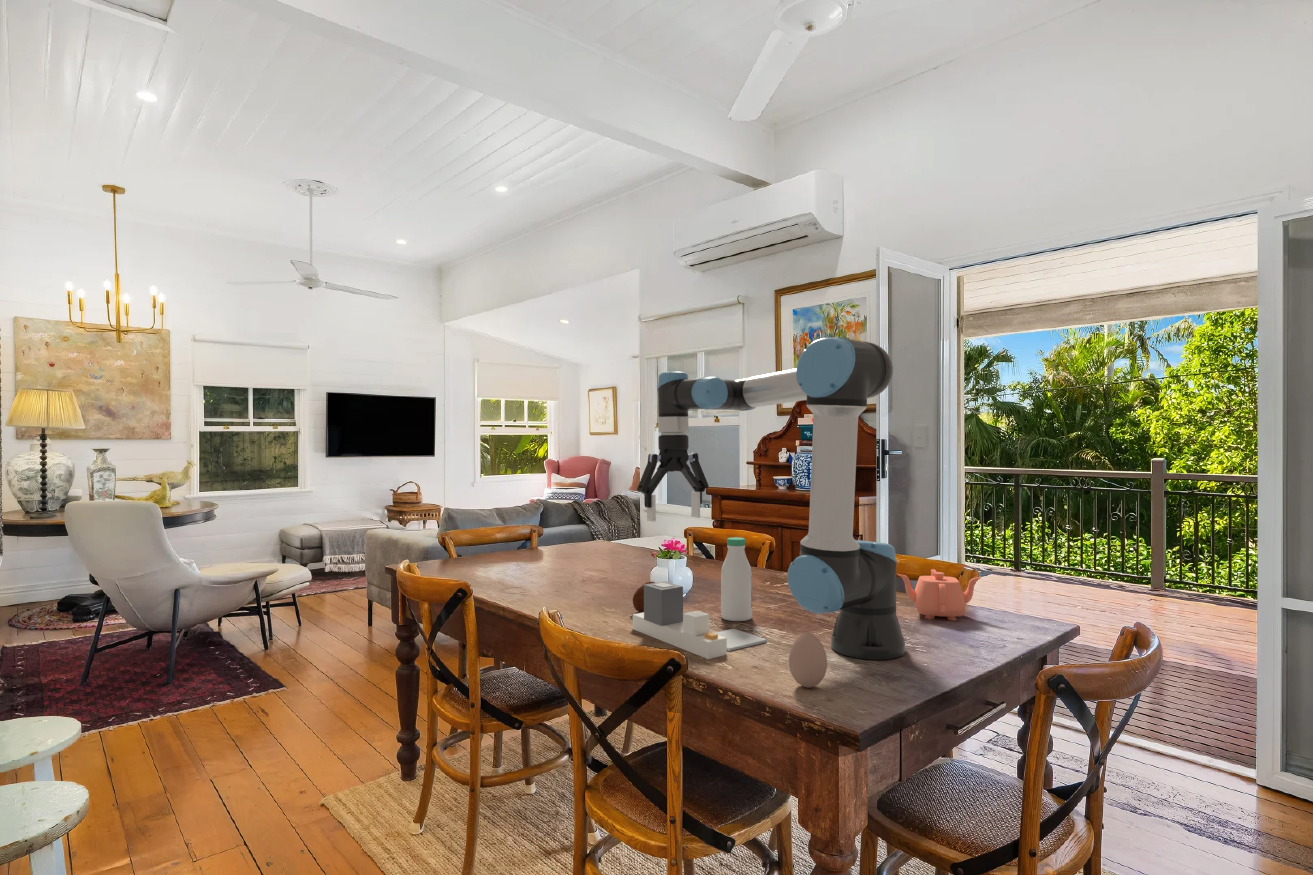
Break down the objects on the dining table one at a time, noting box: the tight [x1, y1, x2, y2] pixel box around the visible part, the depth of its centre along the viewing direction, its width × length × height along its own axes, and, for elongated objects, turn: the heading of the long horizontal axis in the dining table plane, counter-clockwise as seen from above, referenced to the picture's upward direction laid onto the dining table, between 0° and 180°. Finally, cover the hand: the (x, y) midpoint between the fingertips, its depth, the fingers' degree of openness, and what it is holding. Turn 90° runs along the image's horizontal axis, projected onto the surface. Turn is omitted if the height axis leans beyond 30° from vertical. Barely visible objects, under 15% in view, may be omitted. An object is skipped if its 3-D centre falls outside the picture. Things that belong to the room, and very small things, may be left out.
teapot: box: [896, 568, 983, 622], centre depth 178 cm, size 14×14×11 cm
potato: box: [632, 581, 656, 613], centre depth 185 cm, size 8×12×8 cm, turn 137°
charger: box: [643, 581, 684, 626], centre depth 162 cm, size 7×6×8 cm
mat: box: [714, 628, 768, 652], centre depth 158 cm, size 11×11×1 cm
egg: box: [788, 632, 828, 689], centre depth 129 cm, size 7×7×10 cm
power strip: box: [632, 612, 728, 660], centre depth 158 cm, size 28×5×4 cm, turn 35°
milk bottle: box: [720, 536, 753, 622], centre depth 178 cm, size 8×8×20 cm
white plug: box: [682, 610, 710, 636], centre depth 152 cm, size 4×4×4 cm
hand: (674, 519), depth 178 cm, fingers open, 13 cm apart
